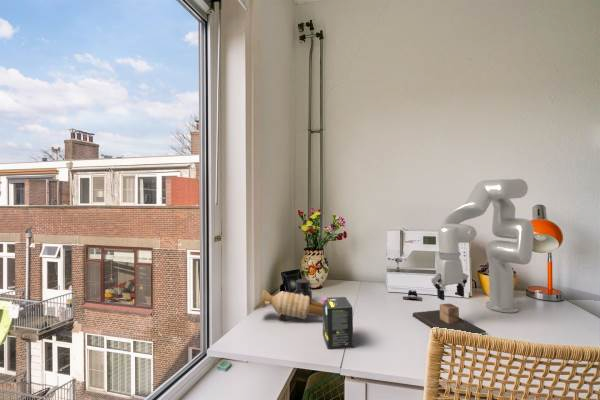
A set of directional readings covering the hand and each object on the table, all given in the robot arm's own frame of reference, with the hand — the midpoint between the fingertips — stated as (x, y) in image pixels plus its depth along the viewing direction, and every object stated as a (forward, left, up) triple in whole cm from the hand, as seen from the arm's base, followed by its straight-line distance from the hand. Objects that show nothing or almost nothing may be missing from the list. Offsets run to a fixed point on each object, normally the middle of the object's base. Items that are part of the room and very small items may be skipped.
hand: (450, 297), depth 122 cm
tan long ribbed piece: (+61, -22, -11) cm, 66 cm away
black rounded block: (-4, -31, -12) cm, 34 cm away
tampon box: (+51, +1, -11) cm, 52 cm away
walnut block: (+1, 0, -9) cm, 9 cm away
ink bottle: (+53, -39, -11) cm, 67 cm away
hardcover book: (+3, 0, -12) cm, 12 cm away
